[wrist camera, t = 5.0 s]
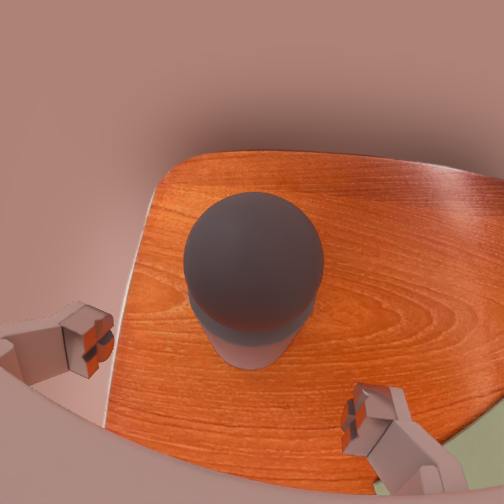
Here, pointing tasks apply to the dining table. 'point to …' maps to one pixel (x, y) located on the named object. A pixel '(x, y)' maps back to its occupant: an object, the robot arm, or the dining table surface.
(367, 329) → the dining table surface
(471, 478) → the mat
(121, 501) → the robot arm
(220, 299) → the ball
